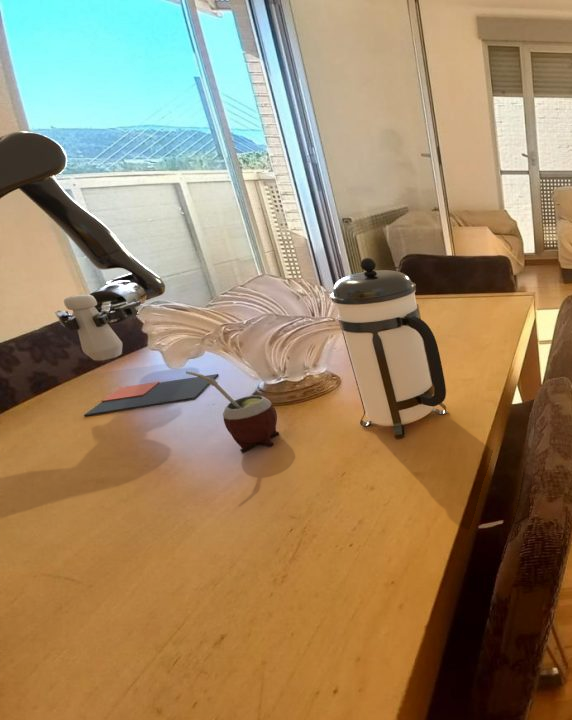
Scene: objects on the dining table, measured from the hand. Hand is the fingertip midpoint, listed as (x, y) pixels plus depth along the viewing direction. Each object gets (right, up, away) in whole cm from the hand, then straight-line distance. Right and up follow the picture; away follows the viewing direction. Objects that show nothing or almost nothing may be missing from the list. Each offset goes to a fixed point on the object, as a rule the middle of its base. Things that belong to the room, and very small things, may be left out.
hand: (84, 323), depth 93 cm
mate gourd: (+42, -22, -11) cm, 48 cm away
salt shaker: (-1, -7, +5) cm, 9 cm away
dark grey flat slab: (+5, -14, +9) cm, 18 cm away
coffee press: (+66, -18, -4) cm, 69 cm away
